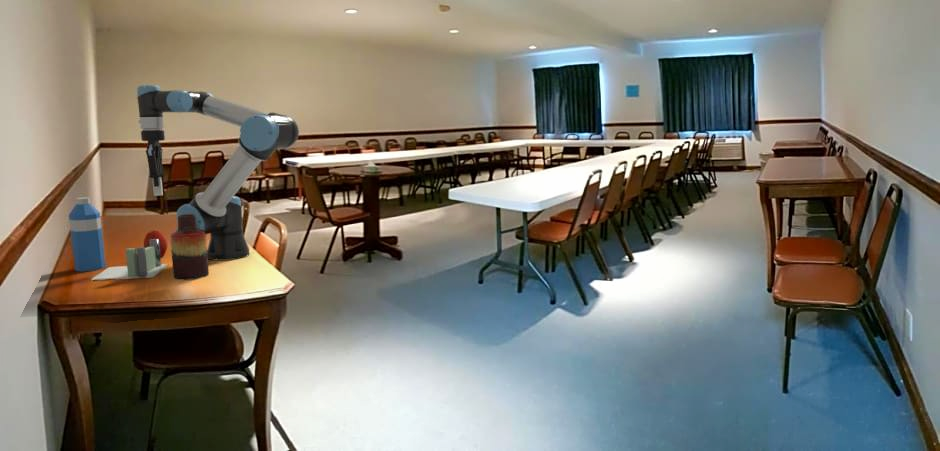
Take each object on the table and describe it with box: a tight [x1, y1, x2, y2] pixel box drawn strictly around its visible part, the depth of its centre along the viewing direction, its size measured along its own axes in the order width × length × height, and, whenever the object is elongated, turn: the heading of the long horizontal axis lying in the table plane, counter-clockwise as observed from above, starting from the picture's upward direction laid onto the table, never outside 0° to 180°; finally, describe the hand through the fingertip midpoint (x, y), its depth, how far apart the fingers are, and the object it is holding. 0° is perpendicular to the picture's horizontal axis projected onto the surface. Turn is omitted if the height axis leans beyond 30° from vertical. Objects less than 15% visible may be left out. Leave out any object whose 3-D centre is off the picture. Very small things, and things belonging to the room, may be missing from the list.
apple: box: [143, 230, 168, 258], centre depth 248 cm, size 8×8×11 cm
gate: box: [125, 247, 156, 277], centre depth 220 cm, size 15×2×9 cm, turn 1°
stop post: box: [136, 246, 147, 279], centre depth 215 cm, size 2×2×10 cm
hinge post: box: [149, 239, 162, 267], centre depth 230 cm, size 3×3×10 cm
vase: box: [169, 214, 210, 281], centre depth 216 cm, size 11×11×20 cm
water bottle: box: [68, 196, 106, 272], centre depth 229 cm, size 9×9×25 cm
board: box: [90, 263, 169, 282], centre depth 223 cm, size 19×18×1 cm
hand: (158, 195), depth 237 cm, fingers closed
